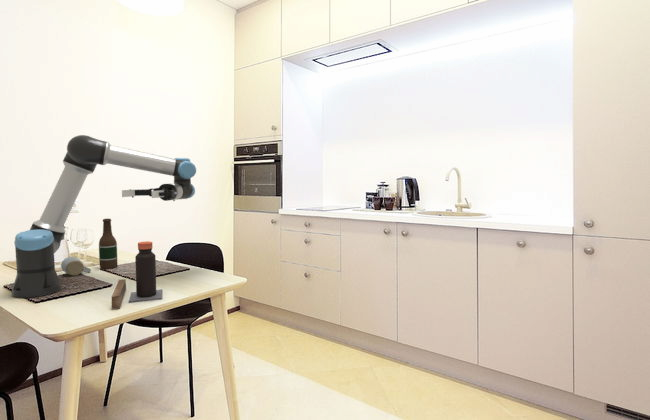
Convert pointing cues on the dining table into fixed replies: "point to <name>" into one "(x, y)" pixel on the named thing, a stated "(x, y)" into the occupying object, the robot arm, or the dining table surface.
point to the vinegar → (145, 270)
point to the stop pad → (137, 299)
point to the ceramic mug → (73, 266)
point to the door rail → (118, 294)
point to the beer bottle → (107, 247)
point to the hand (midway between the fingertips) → (137, 194)
